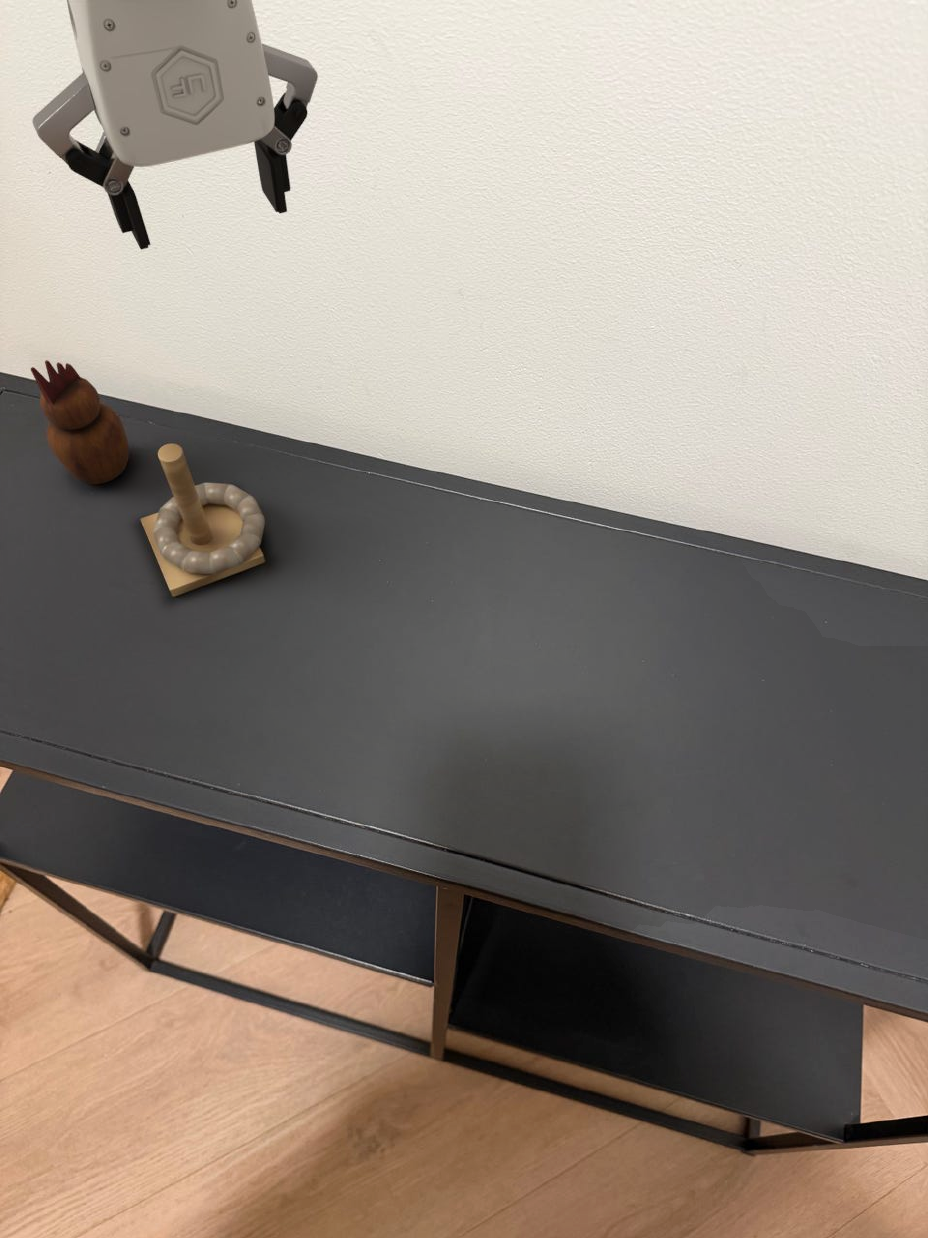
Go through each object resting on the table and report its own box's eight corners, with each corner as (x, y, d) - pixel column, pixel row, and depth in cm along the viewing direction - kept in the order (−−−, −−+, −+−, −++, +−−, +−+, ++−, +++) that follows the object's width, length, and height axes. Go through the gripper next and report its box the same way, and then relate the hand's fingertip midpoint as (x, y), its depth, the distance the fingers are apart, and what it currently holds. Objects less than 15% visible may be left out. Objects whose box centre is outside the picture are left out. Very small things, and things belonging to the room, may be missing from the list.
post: (173, 597, 77) (132, 510, 66) (143, 525, 81) (99, 432, 70) (265, 562, 80) (241, 472, 68) (232, 494, 84) (204, 399, 72)
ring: (176, 592, 76) (171, 581, 75) (144, 512, 80) (138, 499, 79) (280, 554, 79) (277, 542, 77) (244, 478, 83) (240, 465, 81)
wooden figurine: (86, 503, 82) (26, 392, 69) (57, 467, 84) (-7, 352, 71) (148, 470, 85) (100, 356, 72) (118, 436, 86) (67, 319, 73)
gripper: (-20, -24, 39) (98, 286, 54) (325, -79, 44) (346, 219, 59) (-54, -92, 42) (67, 218, 57) (272, -137, 47) (304, 160, 62)
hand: (208, 218), depth 58 cm, fingers open, 9 cm apart
